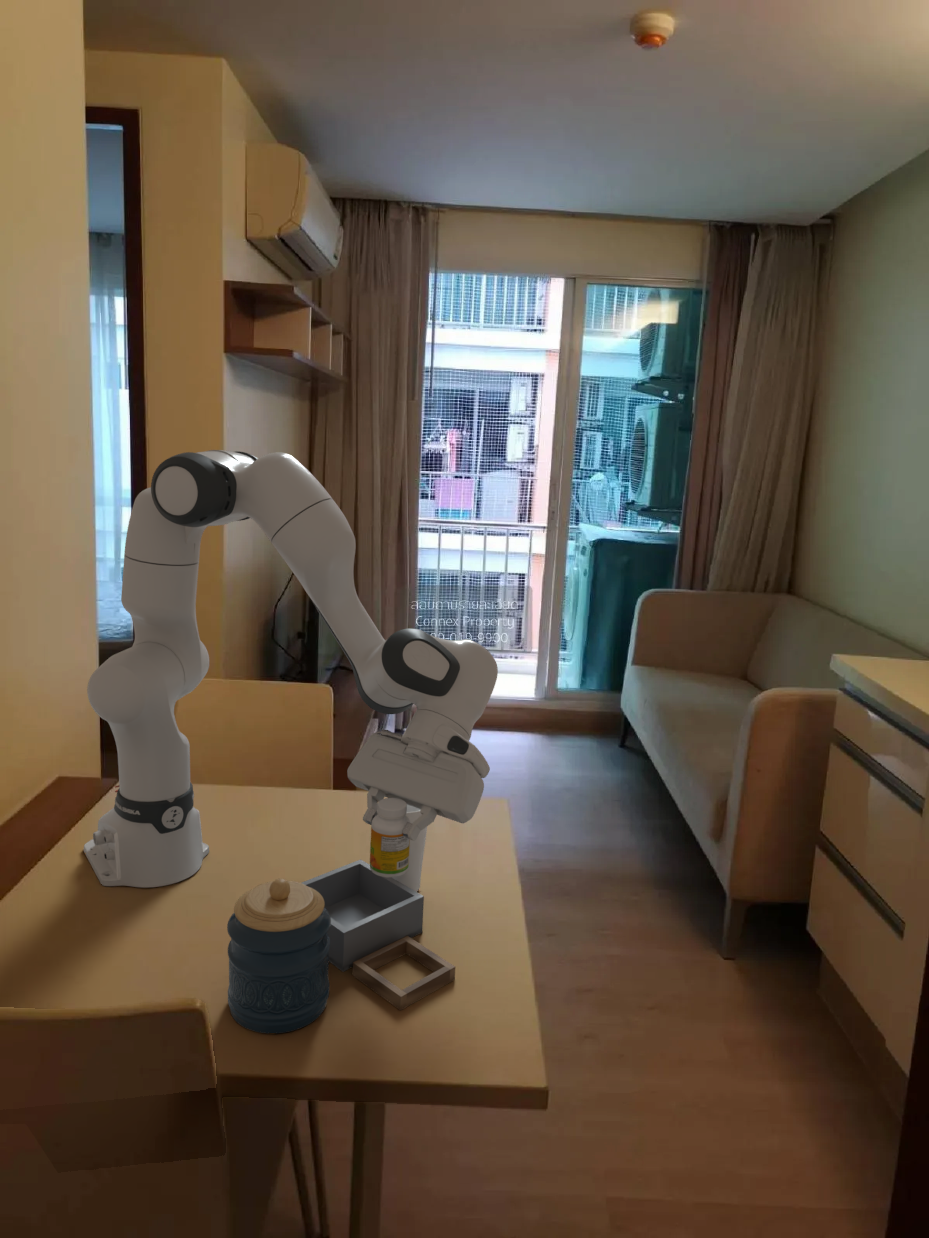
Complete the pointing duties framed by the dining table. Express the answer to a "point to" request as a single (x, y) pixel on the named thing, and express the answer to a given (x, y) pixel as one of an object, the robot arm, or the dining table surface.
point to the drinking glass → (414, 854)
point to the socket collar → (414, 992)
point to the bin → (366, 911)
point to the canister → (278, 957)
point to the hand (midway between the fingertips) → (388, 830)
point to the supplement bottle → (389, 839)
